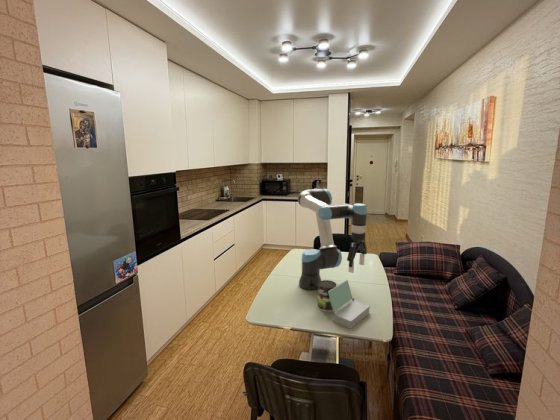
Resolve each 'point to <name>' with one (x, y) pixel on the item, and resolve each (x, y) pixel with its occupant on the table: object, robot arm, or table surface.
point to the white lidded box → (351, 314)
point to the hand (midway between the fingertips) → (356, 268)
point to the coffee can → (325, 295)
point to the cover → (340, 295)
